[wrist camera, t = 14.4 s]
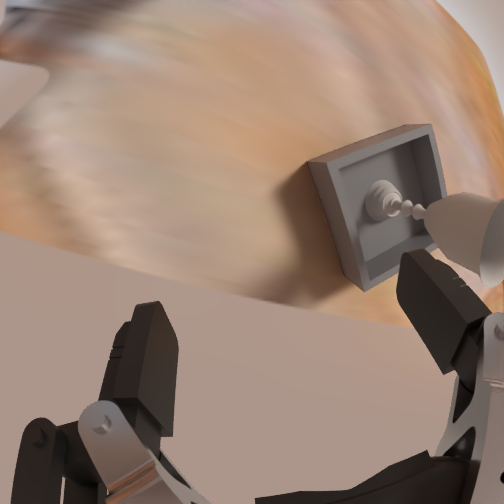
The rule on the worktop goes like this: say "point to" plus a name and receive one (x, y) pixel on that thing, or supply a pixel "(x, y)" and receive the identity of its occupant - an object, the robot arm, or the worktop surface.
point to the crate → (354, 193)
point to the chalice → (452, 226)
